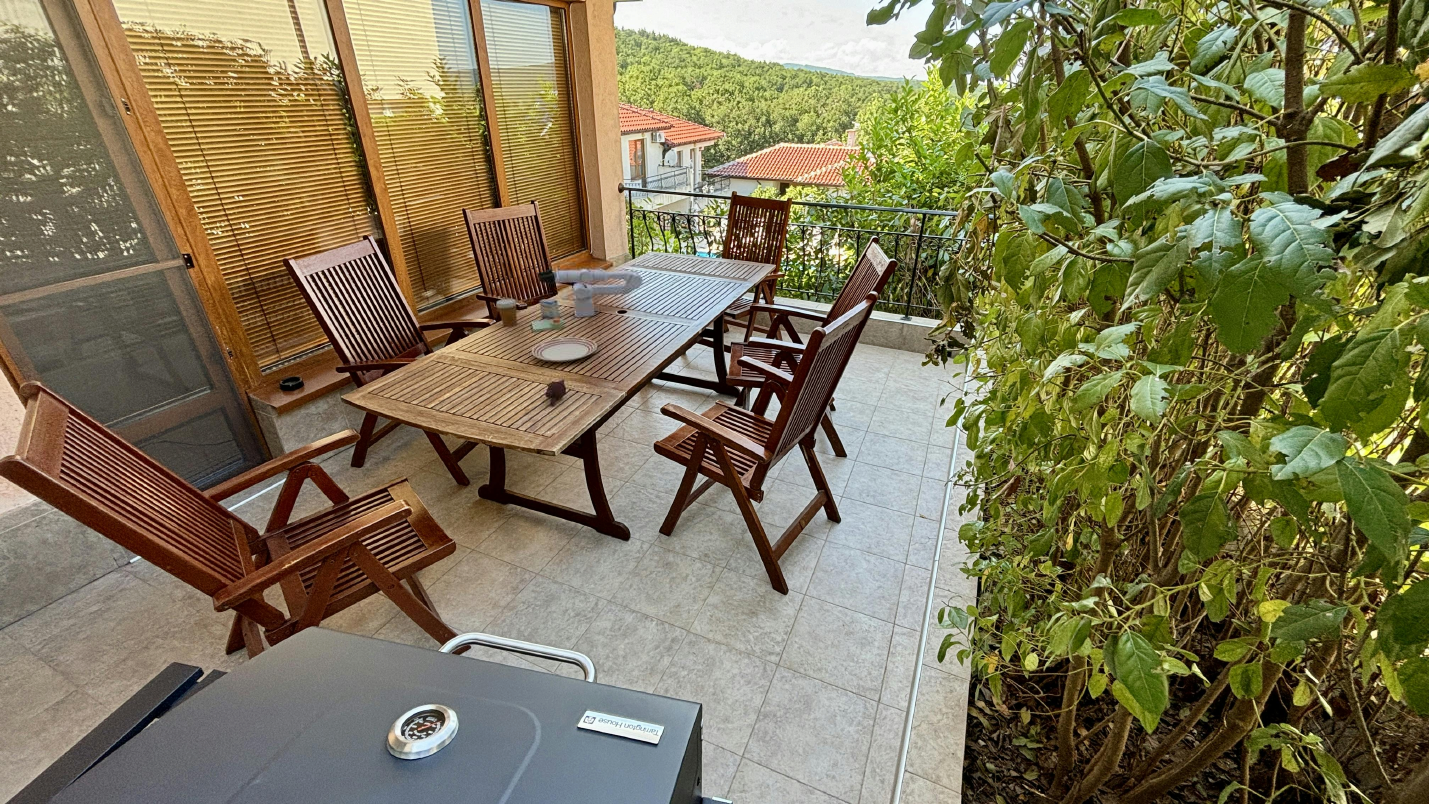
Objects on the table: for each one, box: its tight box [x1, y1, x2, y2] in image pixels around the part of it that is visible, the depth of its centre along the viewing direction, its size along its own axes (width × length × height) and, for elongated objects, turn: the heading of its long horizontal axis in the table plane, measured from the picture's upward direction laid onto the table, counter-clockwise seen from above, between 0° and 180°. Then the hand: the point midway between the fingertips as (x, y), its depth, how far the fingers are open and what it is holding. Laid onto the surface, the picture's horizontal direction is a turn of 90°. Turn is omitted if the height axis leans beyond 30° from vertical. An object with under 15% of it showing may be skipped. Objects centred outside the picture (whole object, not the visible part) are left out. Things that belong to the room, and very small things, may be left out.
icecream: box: [544, 379, 567, 407], centre depth 220 cm, size 7×7×15 cm
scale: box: [530, 318, 564, 333], centre depth 291 cm, size 15×13×3 cm
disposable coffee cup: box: [495, 298, 518, 328], centre depth 292 cm, size 10×10×12 cm
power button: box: [553, 317, 561, 323], centre depth 288 cm, size 3×3×2 cm
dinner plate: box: [531, 336, 598, 363], centre depth 258 cm, size 27×27×3 cm
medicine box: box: [539, 298, 560, 319], centre depth 302 cm, size 8×4×9 cm, turn 68°
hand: (538, 277), depth 291 cm, fingers open, 7 cm apart
